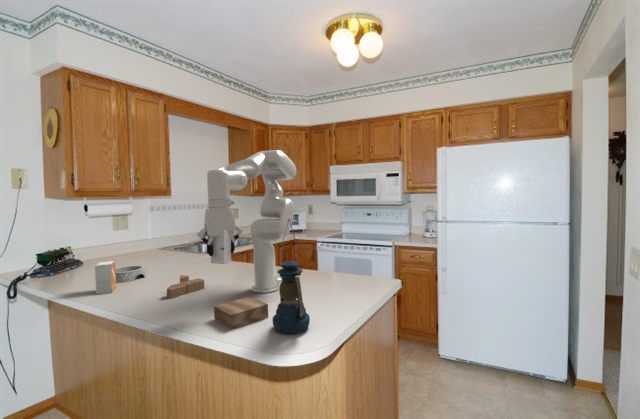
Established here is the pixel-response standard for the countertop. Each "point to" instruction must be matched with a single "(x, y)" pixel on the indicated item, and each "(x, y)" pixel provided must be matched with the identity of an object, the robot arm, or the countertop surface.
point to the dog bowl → (129, 273)
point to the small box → (105, 277)
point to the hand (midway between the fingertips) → (221, 253)
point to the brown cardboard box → (240, 312)
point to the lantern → (290, 299)
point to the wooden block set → (185, 286)
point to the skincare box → (221, 248)
